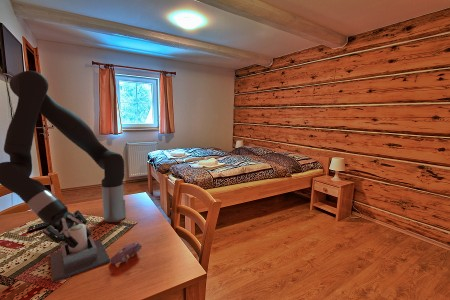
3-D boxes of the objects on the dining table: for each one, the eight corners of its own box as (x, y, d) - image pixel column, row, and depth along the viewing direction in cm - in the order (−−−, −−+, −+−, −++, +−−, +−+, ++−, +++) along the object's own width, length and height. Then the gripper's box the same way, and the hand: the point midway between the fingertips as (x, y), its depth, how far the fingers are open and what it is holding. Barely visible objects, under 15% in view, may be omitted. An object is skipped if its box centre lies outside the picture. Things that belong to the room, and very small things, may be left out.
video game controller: (115, 271, 76) (120, 257, 74) (108, 262, 78) (112, 248, 75) (140, 256, 85) (145, 243, 82) (132, 248, 86) (137, 235, 84)
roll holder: (100, 241, 91) (99, 230, 90) (110, 261, 79) (109, 248, 78) (50, 257, 81) (48, 244, 80) (52, 282, 69) (51, 267, 68)
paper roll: (86, 248, 83) (84, 222, 82) (89, 255, 79) (86, 228, 77) (68, 253, 80) (66, 226, 78) (70, 261, 76) (67, 233, 74)
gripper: (34, 208, 70) (73, 246, 71) (70, 192, 84) (102, 224, 85) (21, 223, 71) (59, 260, 72) (58, 205, 85) (90, 236, 86)
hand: (82, 240), depth 78 cm, fingers open, 5 cm apart
